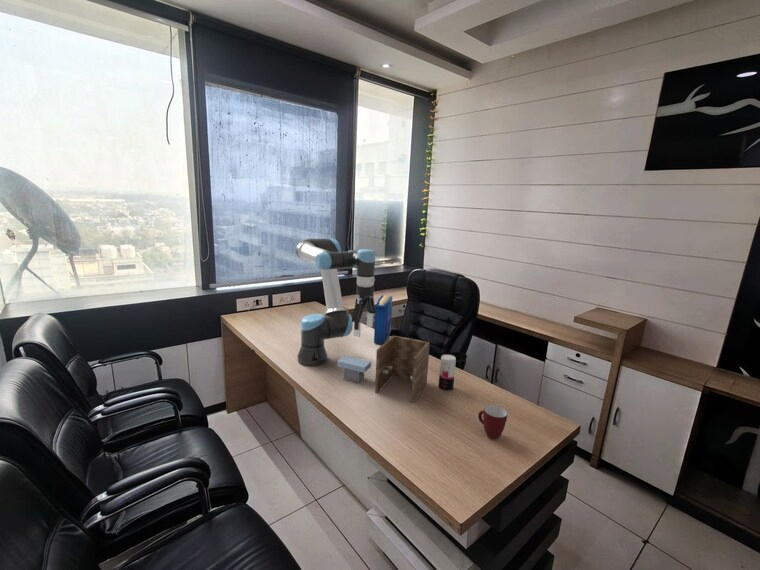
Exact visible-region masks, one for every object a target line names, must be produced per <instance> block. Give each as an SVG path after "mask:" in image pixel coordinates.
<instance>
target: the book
mask: <svg viewBox="0 0 760 570" xmlns="http://www.w3.org/2000/svg"><path fill="white" fill-rule="evenodd" d="M374 304H375V313H374V326H373V327H374V334H373V337H374V338H373V343H375V344H377V345H383V344H384V343H385V342H386V341H387V340H388V339H389V336H390V334H391V333H392V332H391V329H392V314H393V313H392V312H393V311H392V310H393V296H392V295H390V296H389V295H383V294H382V295H381V296H380V297H379V298H378V299H377V301H376V303H374Z"/></svg>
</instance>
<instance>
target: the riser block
mask: <svg viewBox="0 0 760 570" xmlns="http://www.w3.org/2000/svg"><path fill="white" fill-rule="evenodd" d="M364 378H365V373H363V372H359V371H355V370H351V369H347V368H343V379H344V380H347V381H352V382H355V383H360V382H361V381H362V380H364Z"/></svg>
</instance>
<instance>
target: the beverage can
mask: <svg viewBox="0 0 760 570" xmlns="http://www.w3.org/2000/svg"><path fill="white" fill-rule="evenodd" d="M456 362H457V359H456V357H455V356H454V355H452V354H442V355H441V357H440V365H439V378H438V388H439V390H441V391H443V392H452V391H453V390H454V384H455V383H454V382H455V372H456Z"/></svg>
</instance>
